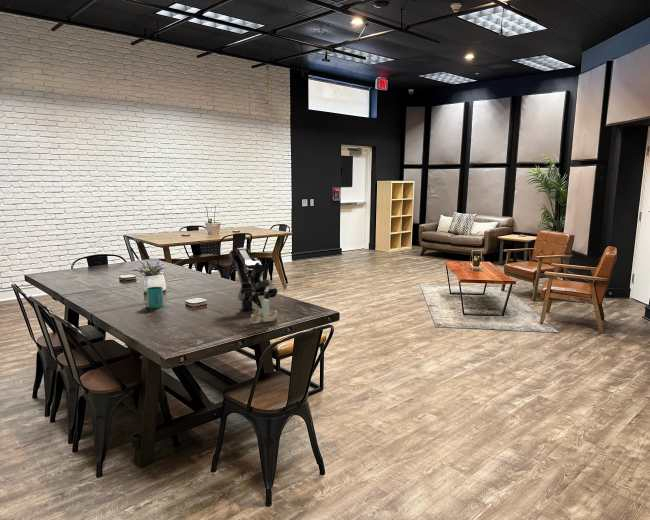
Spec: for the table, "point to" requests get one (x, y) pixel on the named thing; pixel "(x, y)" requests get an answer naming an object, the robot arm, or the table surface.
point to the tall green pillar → (264, 309)
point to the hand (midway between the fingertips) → (264, 307)
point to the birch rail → (258, 319)
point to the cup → (155, 297)
